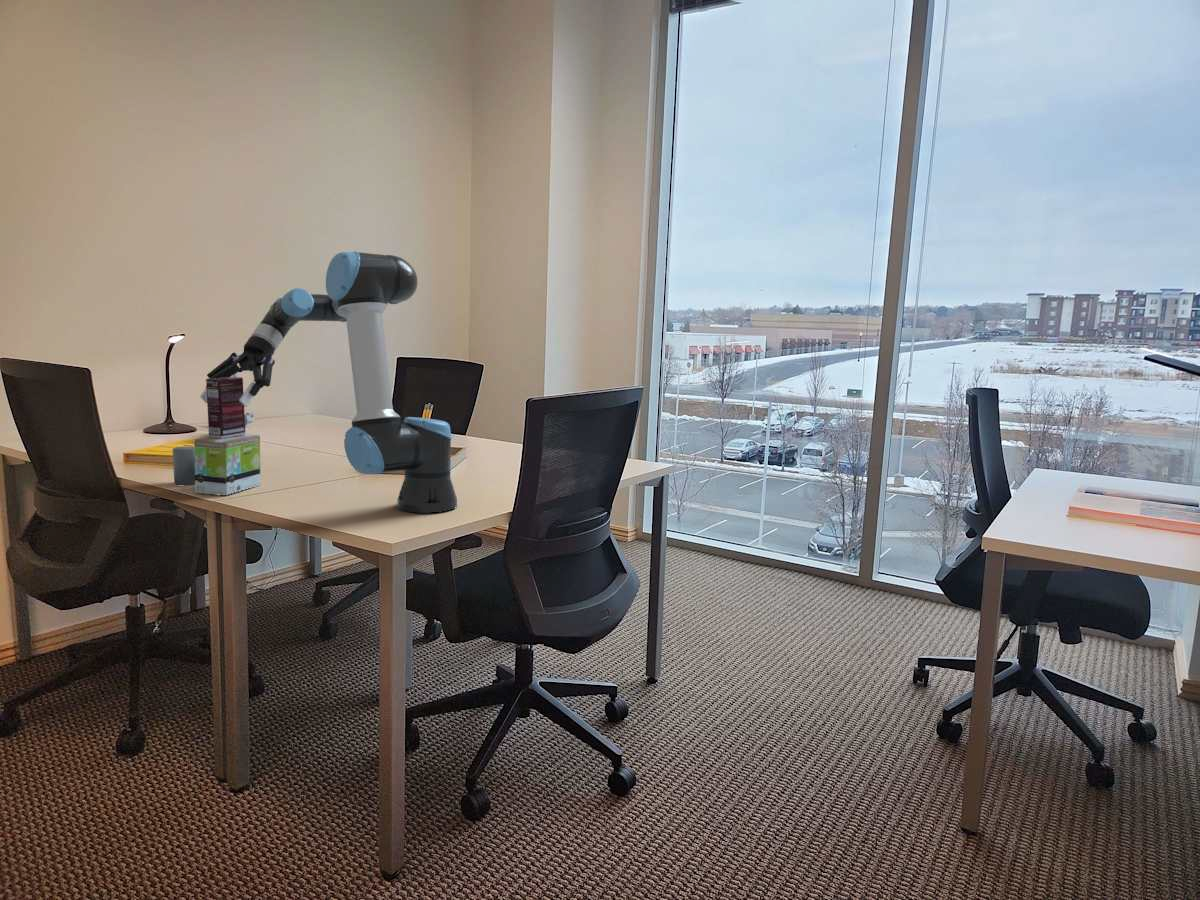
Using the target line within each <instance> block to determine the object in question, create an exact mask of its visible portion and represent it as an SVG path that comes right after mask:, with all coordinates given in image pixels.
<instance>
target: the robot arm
mask: <svg viewBox="0 0 1200 900" xmlns="http://www.w3.org/2000/svg"><path fill="white" fill-rule="evenodd" d="M326 269H327V270H326V274H325V289H326V290H325V291H326V293H327V294H316V293H310V292H309V291H308V290H306V289H304V288H300V287H299V288H298V287H296V288H292V289H290V291H287V292H286V293H285V294H284V295H283V296H282V297H279V298H277V299H276V300H275V301H274V302H273V304H271V305H270V307H269V310H268V311H267V312H266V313H265V314H264V315H265V316H264V317H263V318H262V320H261V322H260V323H259V324H257V326H256V328H255V329H254V331H253V332H252V333H251V336H250V337H249V338H248V340H247V341H246V342H245V344H244V345H243V352H242V353H241V354H238V353H236V352H235V351H234V352H232V353H231V354H230V355H229V356H228V358H226V359H225V360H224V361H222V362H221V363H220V364H218V366H216V367H215V368H213V369H212V370H211V371H210V372H209V373H207V375H206V376H207V377H208V379H212V378H224V377H233V375H234V374H236V373H237V374H238V373H242V372H246V371H249V372H252V375H253V381H251V382H250V383H249V385H248V386H247V387H246V388H245V391H243V395H242V397H241V398H240V399H239V401H240V402H241V403H242V404H243V405H244V408H248V406H249V404H250V403H251V402H252V400H253V398H254V397H255V396H257V394H259V392H260V390H261V389H262V388H264V387H267V388H268V387H270V386H271V380H272V374H273V366H274V365H275V363H276V360H275V359H274V358H273V355H274V354H275V351H276V350H277V348H278V347H279V346H280V344H281V343H282V342H283V340H284V338H285V337H286V336H287V334H288V333H289V331H290V330H292V329H291V328H293V327H294V326H295V325H296V324H297V323H299V322H303V321H305V322H314V321H315V322H341V323H346V330H347V338H348V346H349V355H350V363H351V372H352V374H351V375H352V380H353V389H354V390H353V391H354V397H355V398H354V399H355V407H356V415H355V416H354V417H353V418H352V419H351V427H349V429H347V430H346V432H345V434H344V441H343V443H344V450H345V451H344V452H345V455H346V457H347V460H348V462H349V463H350V465H351V466H352V468H353V469H354V470H355V471H356V472H358V473H359V474H360V475H361V474H362V475H380V474H386V473H393V472H401V471H404V478H403V481H402V485H401V489H400V491H399V494H398V497H397V508H398V509H399V510H401V511H404V512H407V513H413V512H416V514H432V513H431V512H439V513H443V512H442V511H446V512H448V511H447V510H450V511H452V510H451V509H453V510H455V509H456V508H457V507H458V496H457V494H456V491H455V488H454V485H453V481H452V477H451V461H452V460H451V457H452V456H451V454H452V453H451V451H452V450H451V446H452V443H451V442H452V433H451V431H452V430H451V426H450V424H449V422H447V421H444V420H440V419H434V418H433V419H432V418H427V417H415V416H414V417H413V416H408V417H407V416H406V417H405V418H404V420H403V423H401V422H402V421H401V415H399V414H398V413H397V412H395V410H394V409H393V408H394V407H393V406H394V405H393V400H392V389H391V382H390V380H391V379H390V372H389V364H388V363H389V362H388V356H387V355H388V354H387V346H386V337H385V329H384V320H383V313H384V311H385V310H386V309H388V304H389V305H397V304H399V303H403V302H405V301H408V300H409V299H411V298H412V296H414V295H415V293H416V292H417V287H418V275H417V273H416V270H415V268H414V267H413V266H412V265H411V264H410V262H408V261H407V260H406V259H404V258H402V257H400V256H397V255H391V254H378V253H368V252H358V251H349V252H348V251H347V252H346V251H342V252H341V251H340V252H338V253H336V254H335V255H334V256H332V258H331V260H330V262H329V264H328V266H327V268H326ZM237 354H238V355H237ZM199 397H200V398H201V400H202V401H203V402H204V403H205V404H207V386H205V389H204V390H203V392H202V393H201V394H200V395H199ZM455 507H456V508H455ZM454 508H455V509H454Z"/></svg>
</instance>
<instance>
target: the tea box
mask: <svg viewBox="0 0 1200 900" xmlns="http://www.w3.org/2000/svg"><path fill="white" fill-rule="evenodd" d="M194 446H195V485H194V492H196V494H201V493H206V494H205V495H210V494H220V495H227V496H229V495H232V494H235V493H238V491H239V492H242V491H241V490H243V491H246V490H249V489H248V488H250V489H253V488H252V487H254V488H257V487H256V486H258V485H260V486H261V435H259V434H247V433H245V435H242V436H236V437H230V438H224V439H217V438H209V436H207V437H200V438H196V439H194ZM258 487H259V486H258ZM245 489H246V490H245ZM234 492H235V493H234ZM231 493H232V494H231ZM228 494H229V495H228ZM220 495H219V496H220Z"/></svg>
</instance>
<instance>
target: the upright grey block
mask: <svg viewBox="0 0 1200 900" xmlns="http://www.w3.org/2000/svg"><path fill="white" fill-rule="evenodd" d="M172 463H173V464H172V465H173V483H174V484H176V485H175V486H177V485H185V486H184V487H187V486H186V485H194V486H195V446H192V445H188V446H187V445H185V446H184V445H183V446H178V447H177V446H176V447H173V448H172Z"/></svg>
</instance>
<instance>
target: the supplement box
mask: <svg viewBox="0 0 1200 900" xmlns="http://www.w3.org/2000/svg"><path fill="white" fill-rule="evenodd" d="M205 382H206V386H207V403H206V404H207V406H206V407H207V424H208V437H209V438H217V439H224V438H230V437H236V436H242V435H245V434H246V429H245V415H246V413H245V407H244V405H243V404H242V403H241V402H240V401H239V399H240V398H241V397H242V395H243V394H244V379H243V377H238V376H237V377H233V376H231V377H224V378H212V379H209V378H206V379H205ZM206 386H205V387H206Z"/></svg>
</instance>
